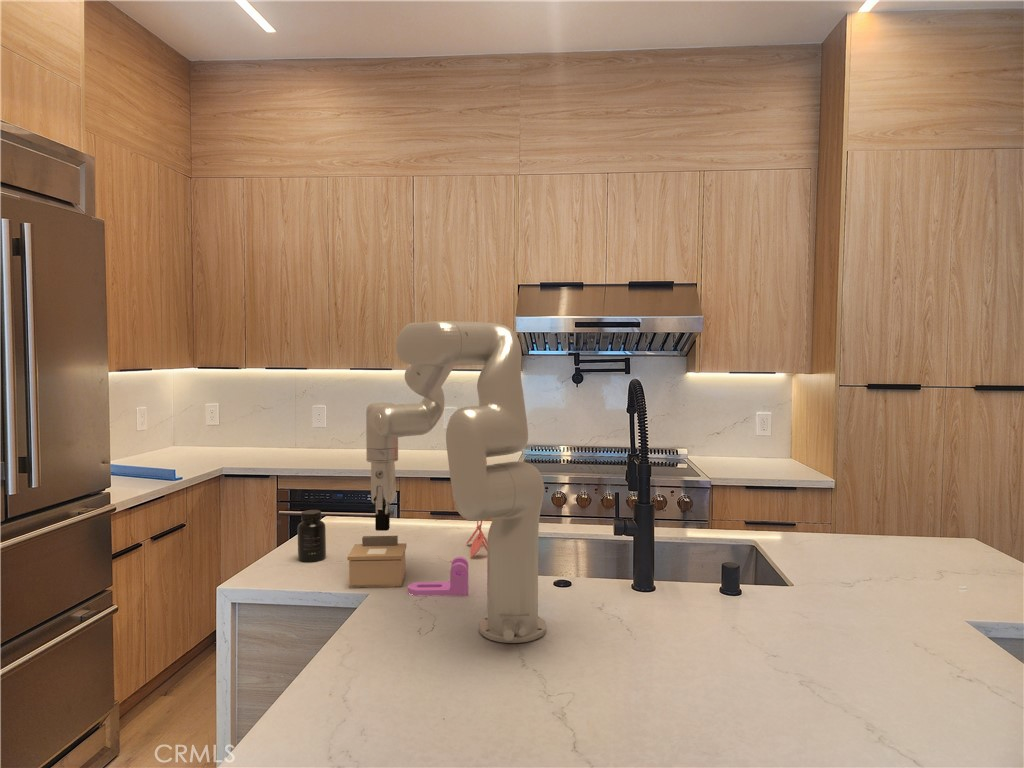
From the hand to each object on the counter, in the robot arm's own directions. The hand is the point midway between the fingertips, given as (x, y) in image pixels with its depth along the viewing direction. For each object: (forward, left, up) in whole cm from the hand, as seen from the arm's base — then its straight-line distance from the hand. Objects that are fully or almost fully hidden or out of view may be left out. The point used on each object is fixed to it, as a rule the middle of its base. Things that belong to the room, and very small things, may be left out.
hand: (382, 529), depth 166 cm
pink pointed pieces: (+12, -20, -10) cm, 25 cm away
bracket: (-18, -14, -10) cm, 25 cm away
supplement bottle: (+8, +19, -10) cm, 23 cm away
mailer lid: (-10, 0, -3) cm, 10 cm away
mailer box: (-10, 0, -9) cm, 13 cm away
